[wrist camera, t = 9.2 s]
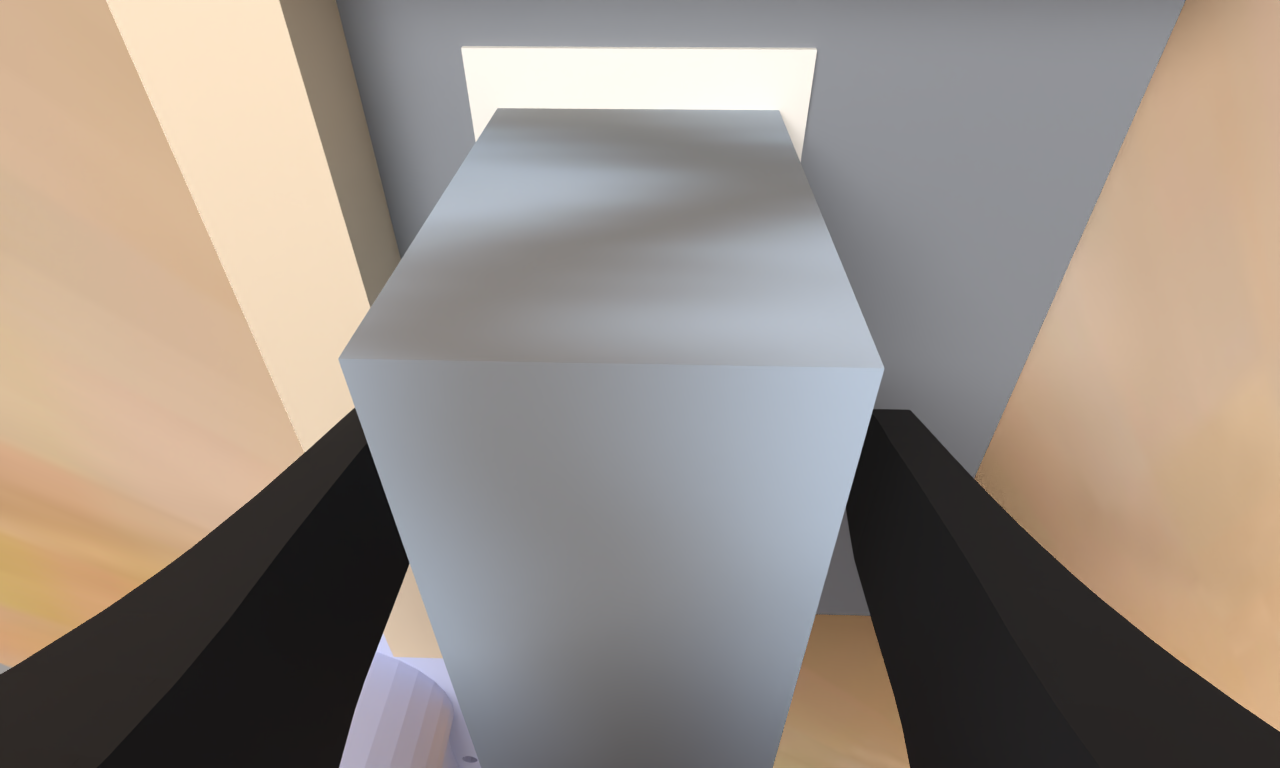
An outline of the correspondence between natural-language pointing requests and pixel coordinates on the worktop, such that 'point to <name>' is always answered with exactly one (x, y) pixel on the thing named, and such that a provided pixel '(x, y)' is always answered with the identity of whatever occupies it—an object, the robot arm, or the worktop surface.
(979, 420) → the tray
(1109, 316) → the worktop surface
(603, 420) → the painted block
